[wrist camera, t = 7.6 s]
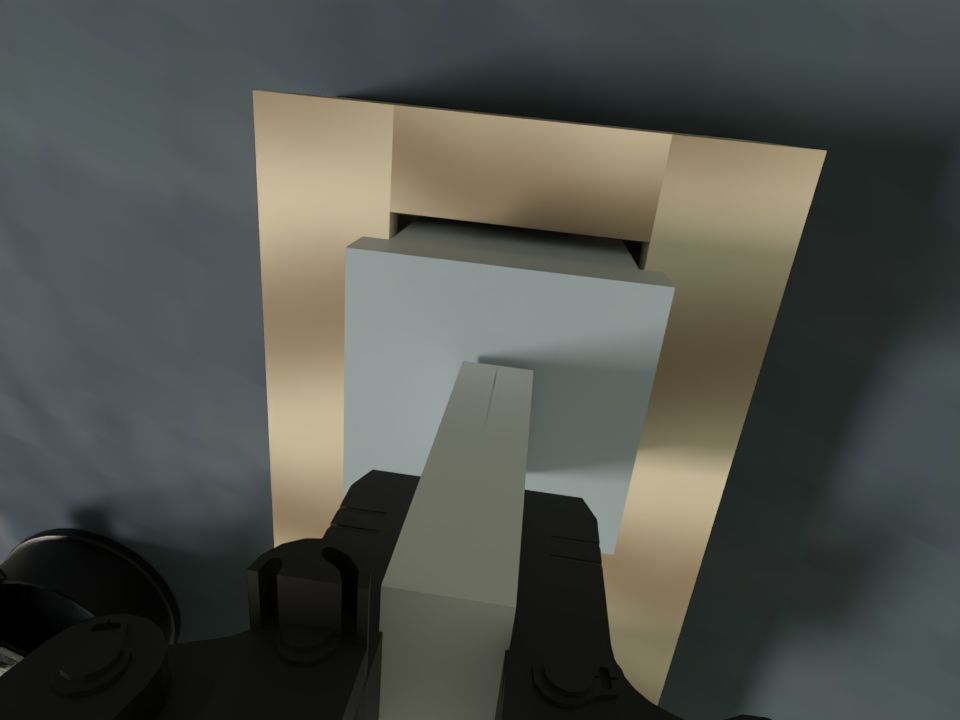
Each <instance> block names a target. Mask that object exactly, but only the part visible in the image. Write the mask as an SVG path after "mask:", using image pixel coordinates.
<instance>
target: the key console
mask: <svg viewBox="0 0 960 720" xmlns="http://www.w3.org/2000/svg"><path fill="white" fill-rule="evenodd" d="M253 104H254V126H255V147H256V168H257V189H258V211H259V232H260V253H261V275H262V296H263V317H264V338H265V360H266V381H267V402H268V424H269V445H270V466H271V487H272V509H273V530H274V548H275V547H277V546H279V545H281V544H283V543H287V542H291V541H296V540H300V539H304V538H323V536H324V534H325V532H326V530H327V529H328V528H330V523H331V521H332V519H333V518H334V516H335V514H336V512H337V510H339V509H340V505H341V503H342V501H343V457H344V344H345V247H347V246H348V245H350V244H351V243H353V242H355V241H356V240H358V239H359V238H361V237H362V236H364V237H373V238H381V239H389V240H391V239H392V238H393V237H394V236H396V235H397V234H398V233H399V232H401V231H402V230H403V229H405V228H406V227H407V226H408V225H410V224H411V223H412V222H414V221H415V220H416V219H417V218H419V217H420V216H429V217H438V218H446V219H455V220H463V221H472V222H480V223H489V224H497V225H506V226H514V227H523V228H531V229H540V230H548V231H557V232H566V233H574V234H583V235H591V236H600V237H608V238H617V239H622V240H623V242H624V244H625V246H626V247H627V249H628V251H629V253H630V254H631V256H632V258H633V260H634V261H635V263H636V265H637V267H638V269H639V270H647V271H655V272H664V273H665V274H666V275H667V277H668V278H669V280H670V281H671V282H672V284H673V285H674V287H675V291H674V295H673V299H672V304H671V308H670V312H669V317H668V321H667V325H666V330H665V334H664V338H663V343H662V347H661V351H660V356H659V360H658V364H657V369H656V373H655V377H654V382H653V386H652V390H651V395H650V399H649V403H648V408H647V412H646V416H645V421H644V425H643V429H642V434H641V438H640V442H639V446H638V451H637V455H636V459H635V464H634V468H633V472H632V477H631V481H630V485H629V490H628V494H627V498H626V503H625V507H624V511H623V516H622V520H621V524H620V529H619V533H618V537H617V542H616V546H615V550H614V555H611V554H604V553H601V559H602V567H603V576H604V585H605V594H606V603H607V612H608V621H609V630H610V639H611V646H612V650H613V654H614V658H615V661H616V662H617V664H618V665H619V666H620V668H621V669H622V671H623V673H624V676H625V677H626V679H627V680H628V681H629V682H630V683H631V685H632V686H633V687H634V688H635V689H636V690H637V691H638V692H639V693H641V694H642V695H643V696H644V697H645V698H647V699H648V700H649V701H650V702H651V703H653V704H655V705H657V706H658V703H659V700H660V696H661V693H662V690H663V687H664V683H665V680H666V677H667V673H668V670H669V667H670V664H671V660H672V657H673V654H674V650H675V647H676V644H677V641H678V637H679V634H680V631H681V628H682V624H683V621H684V618H685V614H686V611H687V608H688V605H689V601H690V598H691V595H692V591H693V588H694V585H695V582H696V578H697V575H698V572H699V569H700V565H701V562H702V559H703V555H704V552H705V549H706V546H707V542H708V539H709V536H710V533H711V529H712V526H713V523H714V519H715V516H716V513H717V510H718V506H719V503H720V500H721V496H722V493H723V490H724V487H725V483H726V480H727V477H728V474H729V470H730V467H731V464H732V460H733V457H734V454H735V451H736V447H737V444H738V441H739V437H740V434H741V431H742V428H743V424H744V421H745V418H746V415H747V411H748V408H749V405H750V401H751V398H752V395H753V392H754V388H755V385H756V382H757V379H758V375H759V372H760V369H761V365H762V362H763V359H764V356H765V352H766V349H767V346H768V342H769V339H770V336H771V333H772V329H773V326H774V323H775V320H776V316H777V313H778V310H779V306H780V303H781V300H782V297H783V293H784V290H785V287H786V283H787V280H788V277H789V274H790V270H791V267H792V264H793V261H794V257H795V254H796V251H797V247H798V244H799V241H800V238H801V234H802V231H803V228H804V224H805V221H806V218H807V215H808V211H809V208H810V205H811V202H812V198H813V195H814V192H815V188H816V185H817V182H818V179H819V175H820V172H821V169H822V166H823V162H824V159H825V156H826V152H827V151H825V150H817V149H810V148H802V147H795V146H787V145H780V144H773V143H765V142H758V141H750V140H741V139H732V138H722V137H713V136H703V135H694V134H684V133H675V132H665V131H656V130H646V129H637V128H627V127H618V126H608V125H599V124H589V123H580V122H570V121H561V120H551V119H542V118H532V117H523V116H513V115H504V114H494V113H485V112H475V111H466V110H456V109H447V108H438V107H428V106H419V105H409V104H400V103H390V102H381V101H371V100H362V99H352V98H343V97H333V96H321V95H308V94H295V93H282V92H270V91H257V90H253Z"/></svg>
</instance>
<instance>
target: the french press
mask: <svg viewBox="0 0 960 720" xmlns="http://www.w3.org/2000/svg"><path fill="white" fill-rule="evenodd" d="M27 585H29V586H35V587H39V588H42V589H45V590H48V591H51V592H55V593H57V594H59V595H61V596H63V597H65V598H67V599H70V600H72V601H74V602H75V603H77V604H78V605H80V606H81V607H83V608H85V609H86V610H88V611H89V612H91V613H92V614H93V615H94V616H95V617H98V616H105V615H114V614H124V613H127V614H132V615H136V616H141V617H146V618H148V619H150V620H151V621H152V622H153V623H155V624H156V625H157V626H159V627H160V628H161V629H162V632H163V635H164V639H165V642H166V645H168V644H175V643H176V641H177V639H178V636H179V629H180V618H179V610H178V607H177V605H176V602H175V599H174V597H173V595H172V593H171V592H170V590H169V588H168V586H167V585H166V583H165V582H164V581H163V579H162V578H161V577H160V576H159V575H158V574H157V572H156V571H155V570H154V569H153V568H152V567H151V566H150V565H148V564H147V563H146V562H145V561H144V560H143V559H142V558H140V557H139V556H138V555H136V554H135V553H133V552H132V551H130V550H129V549H127V548H126V547H124V546H122V545H120V544H118V543H116V542H114V541H112V540H110V539H107V538H105V537H102V536H98V535H95V534H92V533H89V532H83V531H77V530H50V531H46V532H41V533H38V534H35V535H33V536H31V537H29V538H27V539H25V540H24V541H22V542H21V543H20V544H19V545H18V546H16V547H15V548H14V549H13V550H12V551H11V552H10V553H9V555H8V557H7V558H6V560H5V562H4V563H3V564H2V565H0V676H1V675H2V674H4V673H5V672H6V671H8V670H9V669H10V668H12V667H13V666H14V665H16V664H17V663H18V662H19V661H21V660H22V659H23V658H25V657H26V656H27V655H29V654H30V653H31V652H33V651H34V650H35V649H36V648H38V647H39V646H40V645H42V644H43V643H44V642H46V641H47V640H49V639H51V638H52V637H54V636H56V635H55V634H54V633H53V632H52V631H50V630H49V629H48V628H47V627H46V626H45V625H44V623H43V622H42V621H41V620H40V619H39V617H38V616H37V615H36V613H35V612H34V610H33V608H32V606H31V604H30V602H29V598H28V594H27Z"/></svg>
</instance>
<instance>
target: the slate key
mask: <svg viewBox="0 0 960 720" xmlns="http://www.w3.org/2000/svg"><path fill="white" fill-rule="evenodd" d="M674 291H675V287H674V285H673V284H672V282H671V281H670V280H669V278H668V277H667V275H666V274H665V273H664V272H655V271H647V270H639V269H638V267H637V265H636V263H635V261H634V260H633V258H632V256H631V254H630V253H629V251H628V249H627V247H626V246H625V244H624V242H623V240H622V239H617V238H608V237H600V236H591V235H583V234H574V233H566V232H557V231H548V230H540V229H531V228H523V227H514V226H506V225H497V224H489V223H480V222H472V221H463V220H455V219H446V218H438V217H429V216H420V217H419V218H417V219H416V220H415V221H414V222H412V223H411V224H410V225H408V226H407V227H406V228H405V229H403V230H402V231H401V232H399V233H398V234H397V235H396V236H394V237H393V238H392V239H391V240H389V239H381V238H373V237H364V236H362V237H361V238H359V239H358V240H356V241H355V242H353V243H351V244H350V245H348V246H347V247H345V344H344V457H343V499H344V497H345V495H346V494H347V492H348V490H349V488H350V486H351V485H352V484H353V483H355V482H356V481H357V480H359V479H360V478H362V477H363V476H364V475H366V474H367V473H368V472H370V471H371V470H373V469H374V470H381V471H387V472H394V473H401V474H408V475H415V476H421V475H422V472H423V469H424V467H425V464H426V461H427V458H428V456H429V453H430V450H431V448H432V445H433V442H434V439H435V437H436V434H437V431H438V428H439V426H440V423H441V420H442V417H443V415H444V412H445V409H446V406H447V404H448V401H449V398H450V395H451V393H452V390H453V387H454V384H455V382H456V379H457V376H458V373H459V371H460V368H461V365H462V362H463V361H467V362H475V363H482V364H490V365H497V366H505V367H512V368H520V369H527V370H533V384H532V397H531V411H530V424H529V438H528V452H527V465H526V479H525V490H531V491H538V492H545V493H552V494H559V495H565V496H572V497H579V498H583V500H584V501H585V503H586V504H587V505H588V507H589V508H590V510H591V511H592V513H593V514H594V516H595V517H596V519H597V523H598V532H599V541H600V544H599V547H600V550H601V553H604V554H611V555H614V550H615V546H616V542H617V537H618V533H619V529H620V524H621V520H622V516H623V511H624V507H625V503H626V498H627V494H628V490H629V485H630V481H631V477H632V472H633V468H634V464H635V459H636V455H637V451H638V446H639V442H640V438H641V434H642V429H643V425H644V421H645V416H646V412H647V408H648V403H649V399H650V395H651V390H652V386H653V382H654V377H655V373H656V369H657V364H658V360H659V356H660V351H661V347H662V343H663V338H664V334H665V330H666V325H667V321H668V317H669V312H670V308H671V304H672V299H673V295H674Z"/></svg>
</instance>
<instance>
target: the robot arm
mask: <svg viewBox="0 0 960 720" xmlns="http://www.w3.org/2000/svg"><path fill="white" fill-rule="evenodd" d="M532 384H533V370H527V369H520V368H512V367H505V366H497V365H490V364H482V363H475V362H467V361H463V362H462V365H461V368H460V371H459V373H458V376H457V379H456V382H455V384H454V387H453V390H452V393H451V395H450V398H449V401H448V404H447V406H446V409H445V412H444V415H443V417H442V420H441V423H440V426H439V428H438V431H437V434H436V437H435V439H434V442H433V445H432V448H431V450H430V453H429V456H428V458H427V461H426V464H425V467H424V469H423V472H422V475H421V476H415V475H408V474H401V473H394V472H387V471H381V470H374V469H373V470H371V471H370V472H368V473H367V474H366V475H364V476H363V477H362V478H360V479H359V480H357V481H356V482H355V483H353V484H352V485H351V486H350V488H349V490H348V492H347V494H346V495H345V497H344V499H343V501H342V503H341V505H340V509H339V510H337V512H336V514H335V516H334V518H333V519H332V521H331V523H330V528H328V529H327V530H326V532H325V534H324V536H323V538H304V539H300V540H296V541H291V542H287V543H283V544H281V545H279V546H277V547H275V548H273V549H271V550H269V551H267V552H265V553H264V554H262V555H261V556H260V557H259V558H258V559H257V560H256V561H255V562H254V563H253V564H252V565H251V566H250V567H249V568H248V569H247V584H248V598H249V613H250V627H251V628H250V630H247V631H245V632H242V633H240V634H237V635H234V636H229V637H224V638H219V639H212V640H203V641H194V642H186V643H177V644H168V645H166V642H165V639H164V635H163V632H162V629H161V628H160V627H159V626H157V625H156V624H155V623H153V622H152V621H151V620H150V619H148V618H146V617H141V616H136V615H132V614H127V613H124V614H114V615H105V616H98V617H95V618H93V619H90V620H87V621H84V622H81V623H78V624H75V625H72V626H71V627H69V628H67V629H66V630H64V631H62V632H61V633H59V634H57V635H56V636H54V637H52V638H51V639H49V640H47V641H46V642H44V643H43V644H42V645H40V646H39V647H38V648H36V649H35V650H34V651H33V652H31V653H30V654H29V655H27V656H26V657H25V658H23V659H22V660H21V661H19V662H18V663H17V664H16V665H14V666H13V667H12V668H10V669H9V670H8V671H6V672H5V673H4V674H2V675H1V676H0V720H684V719H681V718H679V717H677V716H675V715H673V714H671V713H669V712H667V711H665V710H664V709H662V708H660V707H658V706H657V705H655V704H653V703H651V702H650V701H649V700H648V699H647V698H645V697H644V696H643V695H642V694H641V693H639V692H638V691H637V690H636V689H635V688H634V687H633V686H632V685H631V683H630V682H629V681H628V680H627V679H626V677H625V676H624V673H623V671H622V669H621V668H620V666H619V665H618V664H617V662H616V661H615V658H614V654H613V650H612V646H611V639H610V630H609V621H608V612H607V603H606V594H605V585H604V576H603V567H602V559H601V550H600V547H599V544H600V541H599V532H598V523H597V519H596V517H595V516H594V514H593V513H592V511H591V510H590V508H589V507H588V505H587V504H586V503H585V501H584V500H583V498H579V497H572V496H565V495H559V494H552V493H545V492H538V491H531V490H525V479H526V465H527V452H528V438H529V424H530V411H531V397H532ZM725 720H771V719H769V718H765V717H758V716H750V715H739V716H736V717H732V718H729V719H725Z"/></svg>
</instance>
